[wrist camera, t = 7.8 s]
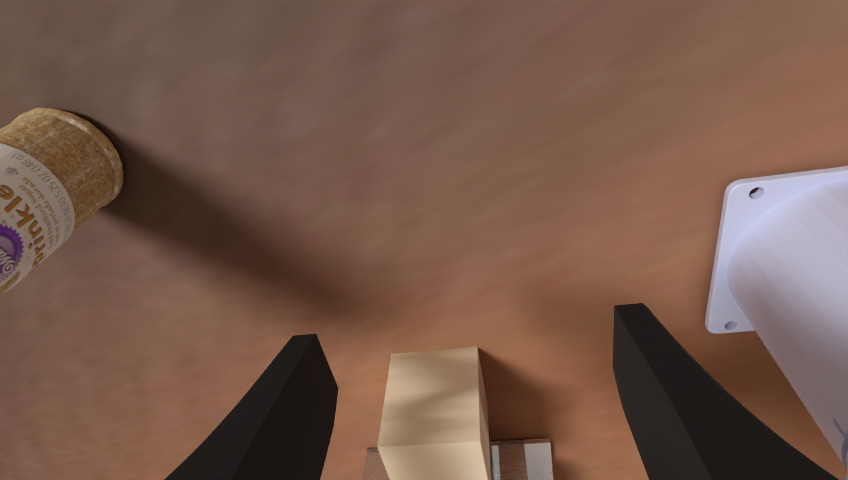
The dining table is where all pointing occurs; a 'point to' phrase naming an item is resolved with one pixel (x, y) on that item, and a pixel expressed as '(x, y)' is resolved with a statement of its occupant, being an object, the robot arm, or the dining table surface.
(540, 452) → the gauge housing
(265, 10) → the dining table surface
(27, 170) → the sprinkles bottle
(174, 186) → the dining table surface
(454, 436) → the block
